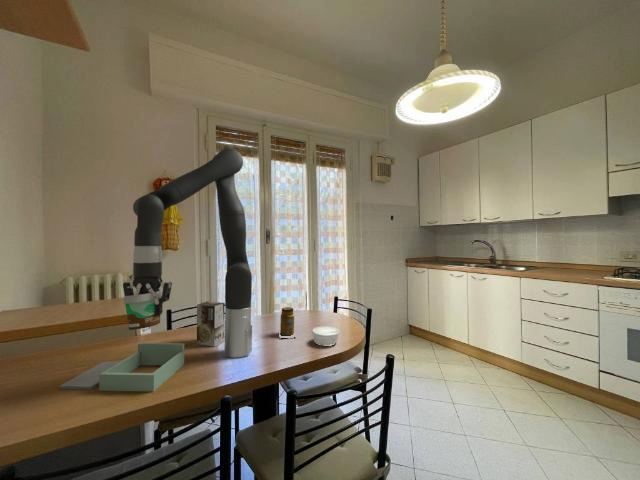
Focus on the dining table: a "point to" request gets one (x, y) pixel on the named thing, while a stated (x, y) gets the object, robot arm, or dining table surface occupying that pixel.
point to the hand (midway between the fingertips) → (147, 315)
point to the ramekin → (325, 335)
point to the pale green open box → (146, 355)
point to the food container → (141, 311)
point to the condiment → (287, 322)
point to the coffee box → (210, 323)
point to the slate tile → (88, 377)
